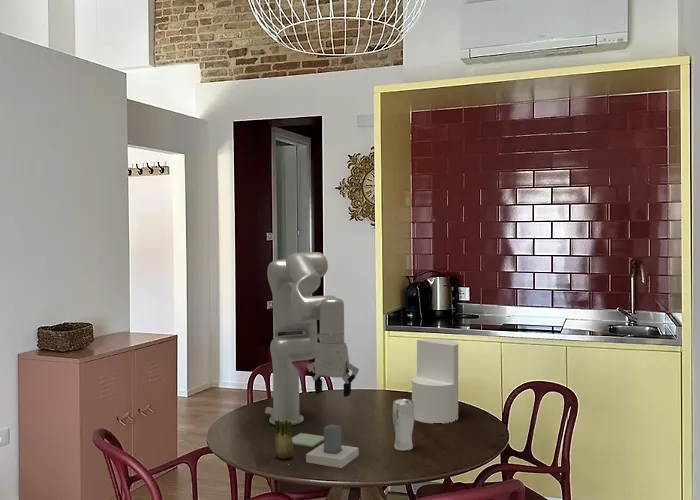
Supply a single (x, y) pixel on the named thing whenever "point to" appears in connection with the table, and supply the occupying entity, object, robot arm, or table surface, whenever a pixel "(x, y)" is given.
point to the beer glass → (403, 423)
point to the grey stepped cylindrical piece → (436, 381)
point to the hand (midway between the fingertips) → (332, 394)
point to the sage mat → (307, 440)
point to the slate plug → (332, 439)
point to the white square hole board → (332, 456)
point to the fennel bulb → (283, 439)
